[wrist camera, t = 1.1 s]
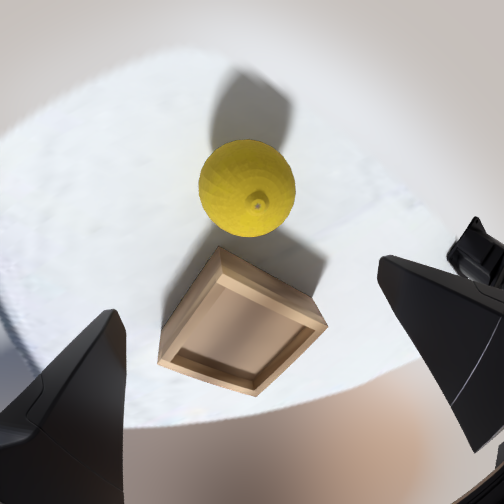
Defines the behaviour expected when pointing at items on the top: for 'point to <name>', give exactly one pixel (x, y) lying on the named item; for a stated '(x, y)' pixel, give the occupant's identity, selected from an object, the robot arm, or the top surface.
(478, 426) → the robot arm
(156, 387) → the top surface
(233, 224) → the lemon
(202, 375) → the tan open box
